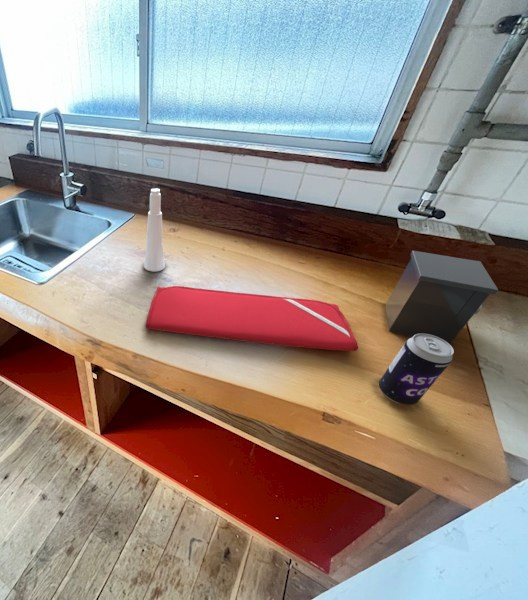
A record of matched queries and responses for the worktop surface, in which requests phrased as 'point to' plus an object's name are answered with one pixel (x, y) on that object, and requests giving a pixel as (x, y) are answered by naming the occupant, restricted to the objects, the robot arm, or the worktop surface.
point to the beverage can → (415, 368)
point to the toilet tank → (437, 295)
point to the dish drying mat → (251, 318)
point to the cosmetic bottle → (154, 234)
